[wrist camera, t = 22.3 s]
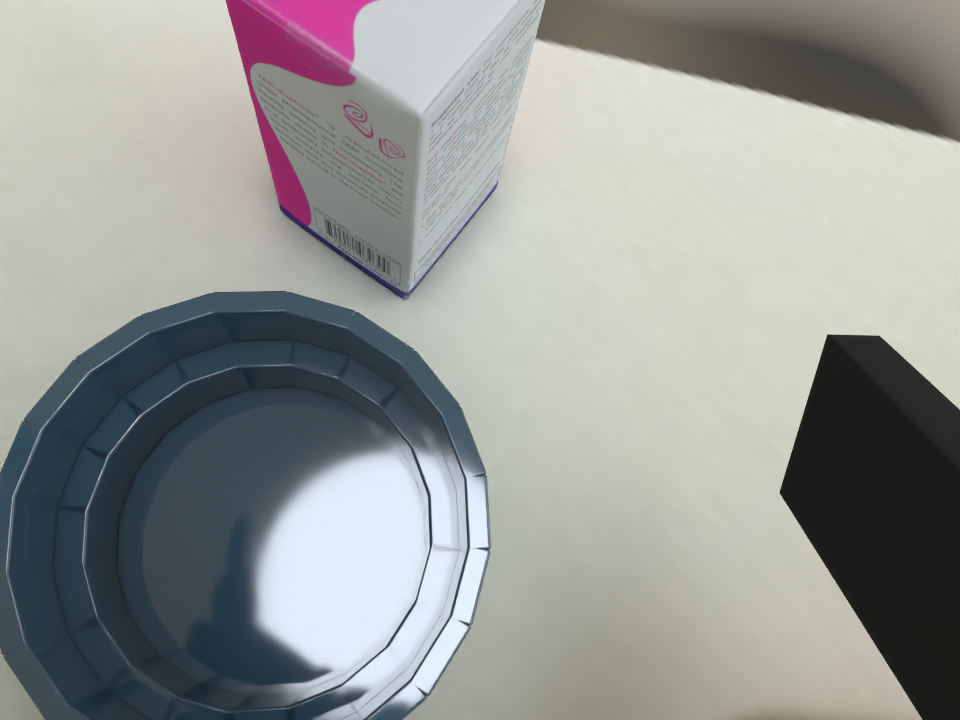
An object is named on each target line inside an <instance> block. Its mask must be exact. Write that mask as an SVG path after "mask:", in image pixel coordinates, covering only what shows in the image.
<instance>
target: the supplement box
mask: <svg viewBox="0 0 960 720" xmlns="http://www.w3.org/2000/svg"><path fill="white" fill-rule="evenodd" d="M544 3H545V0H226V4H227V7H228V11H229V15H230V18H231V22H232V25H233V29H234V32H235V36H236V40H237V44H238V48H239V52H240V55H241V59H242V63H243V67H244V71H245V74H246V78H247V82H248V86H249V90H250V94H251V98H252V101H253V105H254V108H255V112H256V117H257V120H258V124H259V128H260V132H261V136H262V140H263V143H264V147H265V151H266V154H267V158H268V162H269V166H270V169H271V173H272V178H273V181H274V185H275V189H276V193H277V197H278V201H279V205H280V209H281V210H282V211H283V212H284V213H285V214H286V215H287V216H288V217H290V218H291V219H292V220H294V221H295V222H297V223H298V224H299V225H301V226H302V227H303V228H305V229H306V230H308V231H309V232H310V233H312V234H313V235H314V236H316V237H317V238H319V239H320V240H321V241H323V242H324V243H325V244H327V245H328V246H330V247H331V248H333V249H334V250H335V251H337V252H338V253H340V254H341V255H343V256H344V257H345V258H347V259H348V260H350V261H351V262H352V263H354V264H355V265H356V266H358V267H359V268H361V269H362V270H364V271H365V272H367V273H368V274H369V275H371V276H372V277H374V278H375V279H377V280H378V281H380V282H381V283H382V284H384V285H385V286H387V287H388V288H390V289H391V290H393V291H394V292H396V293H397V294H398V295H399V296H401V297H402V298H404V299H406V298H407V297H408V296H409V294H410V293H411V292H412V291H413V290H414V289H415V288H416V287H417V285H418V284H419V283H420V282H421V281H422V279H423V278H424V277H425V275H426V274H427V273H428V271H429V270H430V269H431V267H432V266H433V265H434V264H435V263H436V261H437V260H438V259H439V258H440V256H441V255H442V254H443V253H444V252H445V250H446V249H447V248H448V247H449V245H450V244H451V243H452V242H453V241H454V239H455V238H456V237H457V236H458V234H459V233H460V232H461V231H462V229H463V228H464V227H465V226H466V224H467V223H468V222H469V221H470V220H471V218H472V217H473V216H474V215H475V214H476V212H477V211H478V210H479V208H480V207H481V206H482V205H483V203H484V202H485V201H486V200H487V199H488V197H489V196H490V195H491V194H492V192H493V191H494V190H495V188H496V187H497V184H498V178H499V174H500V171H501V167H502V163H503V159H504V154H505V150H506V146H507V142H508V139H509V135H510V131H511V128H512V124H513V121H514V116H515V113H516V110H517V106H518V101H519V97H520V93H521V90H522V86H523V83H524V79H525V75H526V71H527V67H528V64H529V60H530V56H531V52H532V48H533V44H534V41H535V37H536V34H537V28H538V25H539V21H540V18H541V14H542V10H543V7H544Z"/></svg>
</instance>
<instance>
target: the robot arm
mask: <svg viewBox="0 0 960 720" xmlns="http://www.w3.org/2000/svg"><path fill="white" fill-rule="evenodd" d="M780 494H781V496H782V497H783V499H784V500H785V502H786V504H787V505H788V507H789V508H790V510H791V512H792V513H793V515H794V516H795V518H796V520H797V521H798V523H799V524H800V526H801V527H802V529H803V531H804V532H805V534H806V535H807V537H808V539H809V540H810V542H811V543H812V545H813V546H814V548H815V550H816V551H817V553H818V554H819V556H820V558H821V559H822V561H823V562H824V564H825V566H826V567H827V569H828V570H829V572H830V573H831V575H832V577H833V578H834V580H835V581H836V583H837V585H838V586H839V588H840V589H841V591H842V592H843V594H844V596H845V597H846V599H847V600H848V602H849V604H850V605H851V607H852V608H853V610H854V612H855V613H856V615H857V616H858V618H859V619H860V621H861V623H862V624H863V626H864V627H865V629H866V631H867V632H868V634H869V635H870V637H871V638H872V640H873V642H874V643H875V645H876V646H877V648H878V650H879V651H880V653H881V654H882V656H883V658H884V659H885V661H886V662H887V664H888V665H889V667H890V669H891V670H892V672H893V673H894V675H895V677H896V678H897V680H898V681H899V683H900V684H901V686H902V688H903V689H904V691H905V692H906V694H907V696H908V697H909V699H910V700H911V702H912V703H913V705H914V707H915V708H916V710H917V711H918V713H919V715H920V716H921V718H922V719H923V720H960V410H959V409H958V408H957V407H956V406H955V405H954V404H953V403H952V402H951V401H950V400H949V399H947V398H946V397H945V396H944V395H943V394H942V393H941V392H940V391H939V390H938V389H937V388H936V387H934V386H933V385H932V384H931V383H930V382H929V381H928V380H927V379H926V378H925V377H924V376H923V375H921V374H920V373H919V372H918V371H917V370H916V369H915V368H914V367H913V366H912V365H911V364H910V363H908V362H907V361H906V360H905V359H904V358H903V357H902V356H901V355H900V354H899V353H898V352H897V351H895V350H894V349H893V348H892V347H891V346H890V345H889V344H888V343H887V342H886V341H885V340H884V339H882V338H881V337H880V336H865V335H827V338H826V341H825V344H824V348H823V351H822V354H821V358H820V361H819V364H818V367H817V371H816V374H815V377H814V381H813V384H812V387H811V391H810V394H809V397H808V400H807V404H806V407H805V410H804V414H803V417H802V420H801V424H800V427H799V430H798V433H797V437H796V440H795V443H794V447H793V450H792V453H791V457H790V460H789V463H788V466H787V470H786V473H785V476H784V480H783V483H782V486H781V489H780Z"/></svg>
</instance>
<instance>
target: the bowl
mask: <svg viewBox="0 0 960 720" xmlns="http://www.w3.org/2000/svg"><path fill="white" fill-rule="evenodd" d="M459 406H460V405H459V403H458V402H457V401H456V399H455V398H454V397H453V396H452V394H451V393H450V392H449V391H448V389H447V388H446V387H445V386H444V384H443V383H442V382H441V381H440V380H439V378H438V377H437V376H436V375H435V373H434V372H433V371H432V370H431V368H430V367H429V366H428V365H427V363H426V362H425V361H424V360H423V358H422V357H421V356H420V355H419V354H418V352H417V351H414V349H413V348H412V347H410V346H409V345H407V344H406V343H404V342H402V341H401V340H399V339H398V338H396V337H395V336H393V335H392V334H390V333H389V332H387V331H386V330H384V329H383V328H381V327H380V326H378V325H377V324H375V323H374V322H372V321H371V320H369V319H367V318H366V317H364V316H363V315H361V314H360V313H358V312H356V313H355V311H354V310H351V309H347V308H344V307H340V306H337V305H333V304H330V303H326V302H323V301H319V300H316V299H312V298H309V297H305V296H302V295H298V294H295V293H291V292H286V291H259V292H214V293H209V294H206V295H203V296H200V297H197V298H193V299H190V300H187V301H184V302H181V303H177V304H174V305H171V306H168V307H164V308H161V309H158V310H155V311H152V312H148V313H145V314H142V315H141V316H138V317H136V318H135V319H133V320H132V321H130V322H129V323H127V324H126V325H124V326H123V327H121V328H120V329H118V330H117V331H115V332H114V333H112V334H111V335H109V336H108V337H106V338H105V339H103V340H102V341H100V342H99V343H97V344H96V345H94V346H93V347H91V348H90V349H88V350H87V351H85V352H84V353H82V354H80V355H79V356H77V357H76V360H73V361H72V362H71V363H70V365H69V366H68V367H67V368H66V369H65V371H64V372H63V373H62V374H61V375H60V376H59V378H58V379H57V380H56V381H55V382H54V384H53V385H52V386H51V387H50V388H49V389H48V391H47V392H46V393H45V394H44V395H43V397H42V398H41V399H40V400H39V401H38V403H37V404H36V405H35V406H34V407H33V408H32V410H31V411H30V412H29V413H28V414H27V416H26V417H25V418H24V420H25V421H23V422H22V423H21V425H20V428H19V430H18V432H17V435H16V437H15V439H14V442H13V444H12V446H11V449H10V451H9V453H8V456H7V458H6V460H5V463H4V465H3V467H2V470H1V472H0V648H1V652H2V655H5V656H4V659H5V661H6V662H7V664H8V665H9V667H10V668H11V670H12V671H13V672H14V674H15V675H16V677H17V678H18V680H19V681H20V683H21V684H22V686H23V687H24V689H25V690H26V692H27V693H28V695H29V696H30V698H31V699H32V701H33V702H34V704H35V705H36V707H37V708H38V709H39V711H40V712H41V714H42V715H43V717H44V718H45V720H403V719H404V718H405V717H406V716H407V715H408V714H410V713H411V712H412V711H413V710H414V709H415V708H416V707H418V706H419V705H420V704H421V703H422V702H423V701H424V700H426V698H427V696H429V695H430V694H431V692H432V690H433V689H434V687H435V686H436V684H437V682H438V681H439V679H440V677H441V676H442V674H443V673H444V671H445V669H446V668H447V666H448V664H449V663H450V661H451V659H452V658H453V656H454V655H455V653H456V651H457V650H458V648H459V646H460V645H461V643H462V642H463V640H464V638H465V637H466V635H467V633H468V632H469V630H470V628H471V627H470V626H471V625H472V623H473V619H474V615H475V611H476V607H477V603H478V599H479V595H480V591H481V587H482V583H483V580H484V576H485V572H486V568H487V564H488V560H489V556H490V550H489V549H490V548H491V540H490V523H489V505H488V487H487V476H486V475H485V474H486V471H485V468H484V465H483V463H482V460H481V458H480V455H479V452H478V450H477V447H476V445H475V442H474V439H473V437H472V434H471V432H470V429H469V426H468V424H467V421H466V419H465V416H464V413H463V411H462V408H461V407H459Z"/></svg>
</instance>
